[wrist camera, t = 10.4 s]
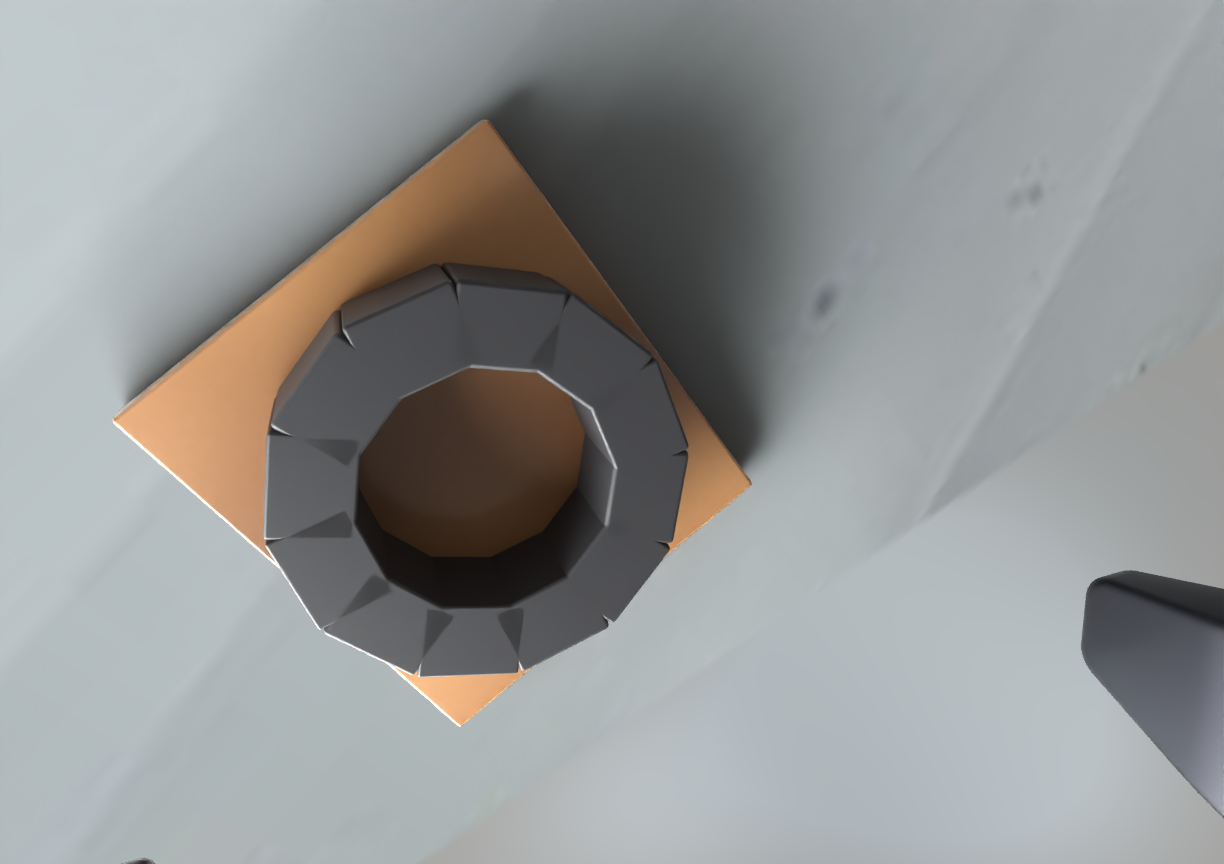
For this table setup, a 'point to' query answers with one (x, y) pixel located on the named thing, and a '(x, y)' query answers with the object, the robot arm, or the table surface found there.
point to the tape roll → (470, 586)
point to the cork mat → (433, 417)
